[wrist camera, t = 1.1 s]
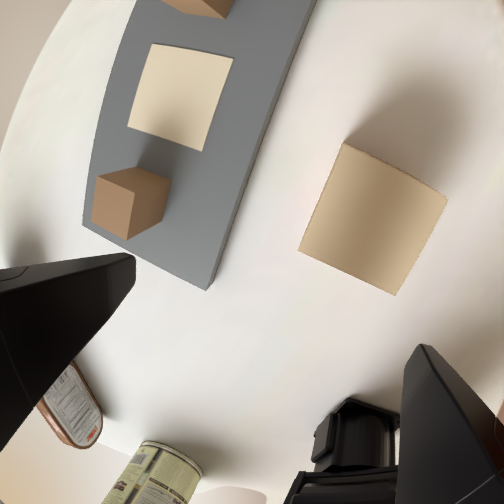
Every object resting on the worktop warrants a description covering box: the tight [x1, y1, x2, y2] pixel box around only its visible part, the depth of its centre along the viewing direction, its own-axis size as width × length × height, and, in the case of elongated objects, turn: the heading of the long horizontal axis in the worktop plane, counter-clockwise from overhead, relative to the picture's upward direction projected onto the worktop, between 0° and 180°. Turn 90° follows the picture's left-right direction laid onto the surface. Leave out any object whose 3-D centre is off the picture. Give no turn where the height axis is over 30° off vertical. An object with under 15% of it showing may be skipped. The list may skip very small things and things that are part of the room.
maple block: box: [298, 142, 448, 296], centre depth 15 cm, size 5×5×6 cm
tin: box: [36, 362, 103, 449], centre depth 32 cm, size 15×3×8 cm, turn 9°
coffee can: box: [101, 441, 203, 504], centre depth 31 cm, size 10×10×14 cm
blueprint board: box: [82, 0, 317, 291], centre depth 16 cm, size 12×24×5 cm, turn 161°
